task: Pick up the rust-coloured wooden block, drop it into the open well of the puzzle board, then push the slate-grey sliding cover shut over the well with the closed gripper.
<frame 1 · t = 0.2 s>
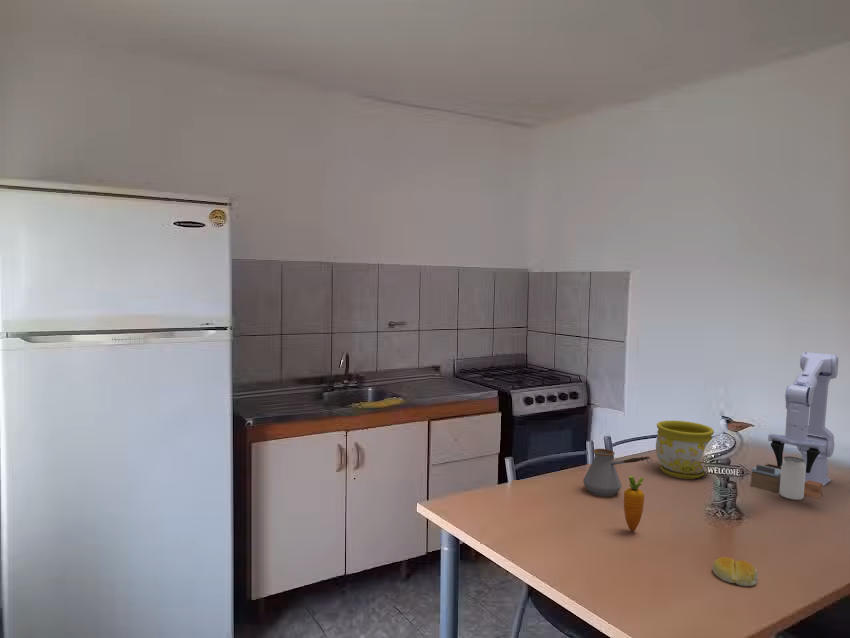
hand: (793, 469, 180), 10 cm above the table, tool pointing down, fingers open, 7 cm apart
cover: (768, 468, 194), point 6 cm above the table, slide at 0.0 cm
carrot: (632, 532, 156), on the table
can: (791, 497, 185), on the table
block: (812, 495, 188), on the table
flowerpot: (682, 473, 205), on the table
coffee pot: (615, 497, 181), on the table
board: (774, 482, 199), on the table
bread roll: (735, 578, 133), on the table
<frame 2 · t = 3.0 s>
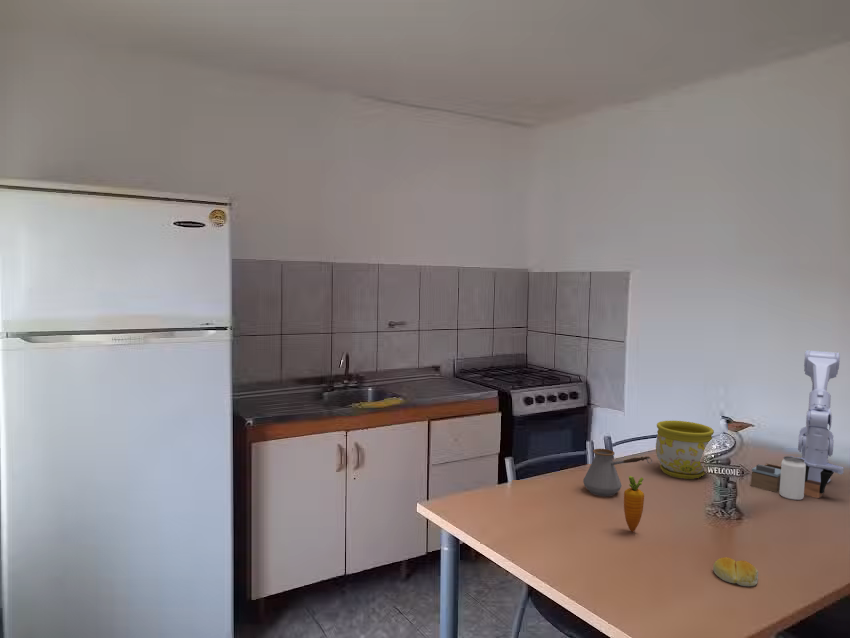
hand: (813, 490, 187), 1 cm above the table, tool pointing down, fingers closed on block, 4 cm apart
block: (812, 494, 188), on the table, touching gripper
everything else where it was.
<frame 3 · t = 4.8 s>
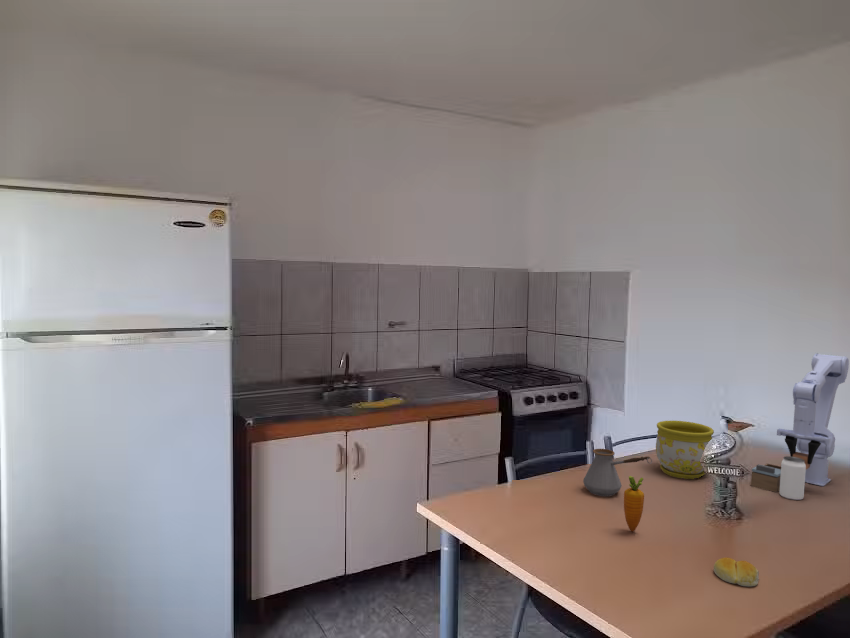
hand: (801, 461, 191), 9 cm above the table, tool pointing down, fingers closed on block, 4 cm apart
block: (800, 466, 191), point 8 cm above the table, touching gripper
everything else where it was.
when the fingers open (5 cm above the table, at t = 6.7 s): block drops 3 cm, resting in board.
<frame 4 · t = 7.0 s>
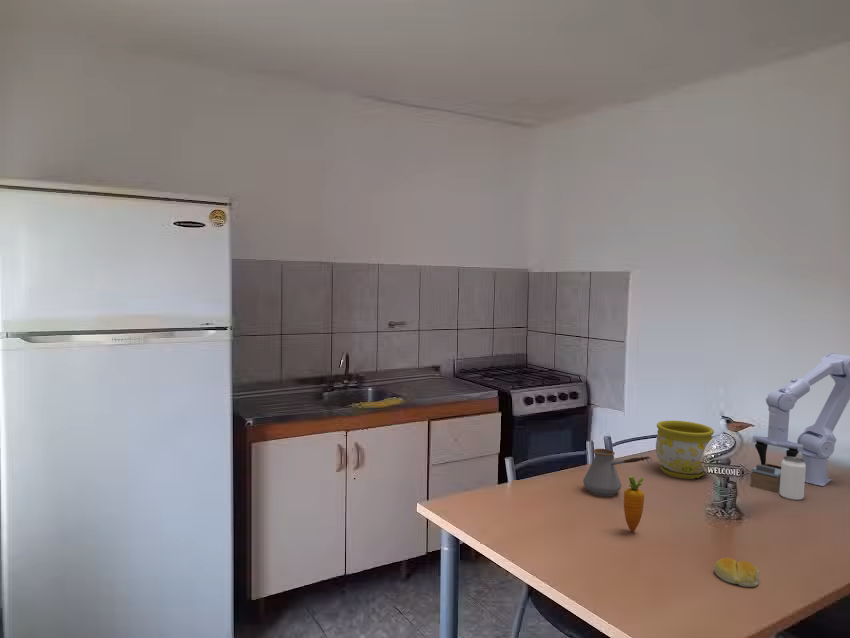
hand: (775, 467, 199), 5 cm above the table, tool pointing down, fingers open, 7 cm apart
block: (774, 482, 199), resting in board
everything else where it was.
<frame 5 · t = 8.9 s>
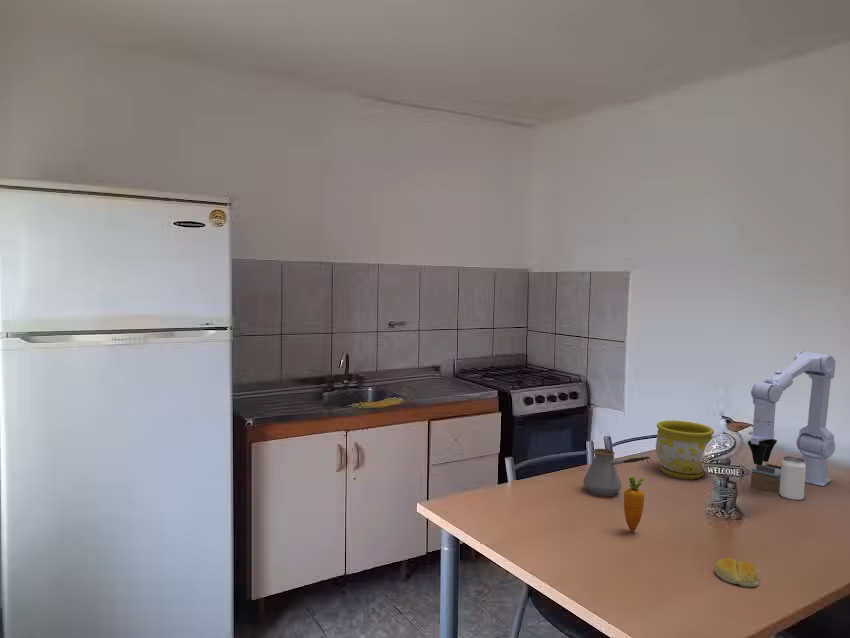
hand: (761, 462, 188), 9 cm above the table, tool pointing down, fingers open, 5 cm apart
nothing on the table moved.
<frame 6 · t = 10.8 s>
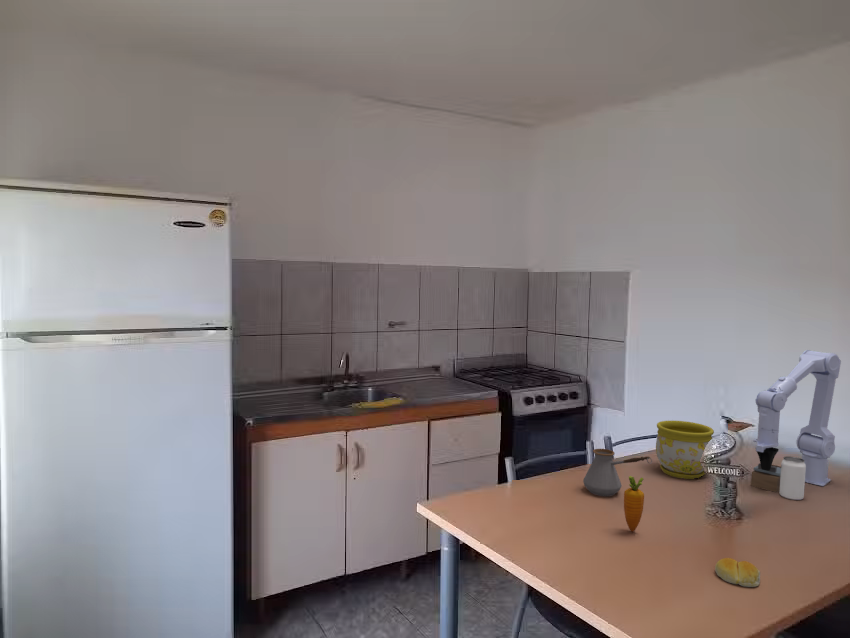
hand: (765, 469, 192), 6 cm above the table, tool pointing down, fingers closed
cover: (770, 467, 195), point 6 cm above the table, slide at 1.7 cm, touching gripper
everything else where it was.
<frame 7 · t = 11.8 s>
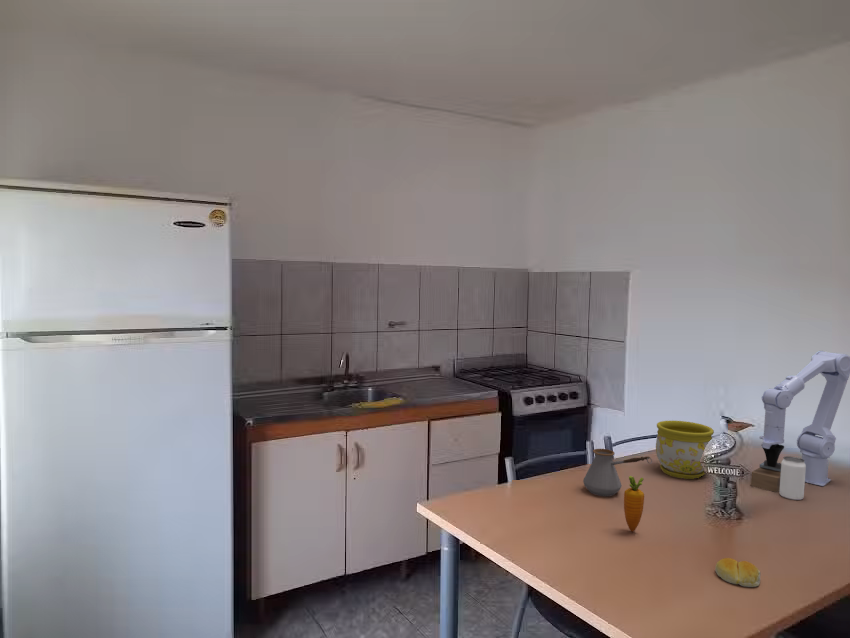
hand: (771, 466, 196), 6 cm above the table, tool pointing down, fingers closed
cover: (775, 464, 199), point 6 cm above the table, slide at 7.2 cm, touching gripper
everything else where it was.
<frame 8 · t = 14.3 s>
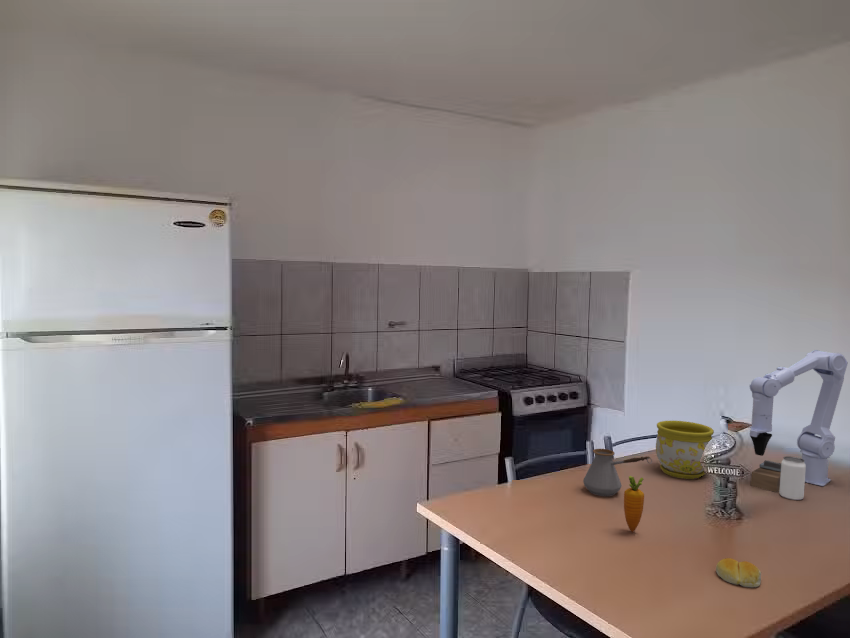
hand: (759, 454, 195), 10 cm above the table, tool pointing down, fingers closed
cover: (775, 464, 199), point 6 cm above the table, slide at 7.1 cm
everything else where it was.
at the end: block 0.2 cm off-centre on the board, point 0.0 cm above the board's base; cover slide at 7.1 cm; block tilted 0° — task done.
